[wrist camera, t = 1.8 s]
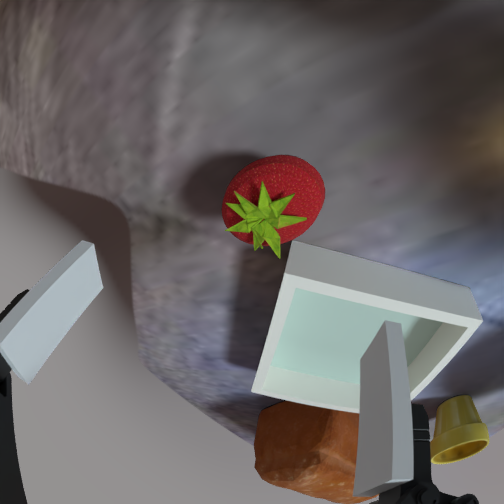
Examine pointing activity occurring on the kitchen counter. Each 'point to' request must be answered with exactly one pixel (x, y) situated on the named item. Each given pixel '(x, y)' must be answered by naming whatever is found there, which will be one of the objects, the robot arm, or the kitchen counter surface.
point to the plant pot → (457, 431)
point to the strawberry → (273, 201)
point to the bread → (309, 450)
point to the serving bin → (356, 326)
